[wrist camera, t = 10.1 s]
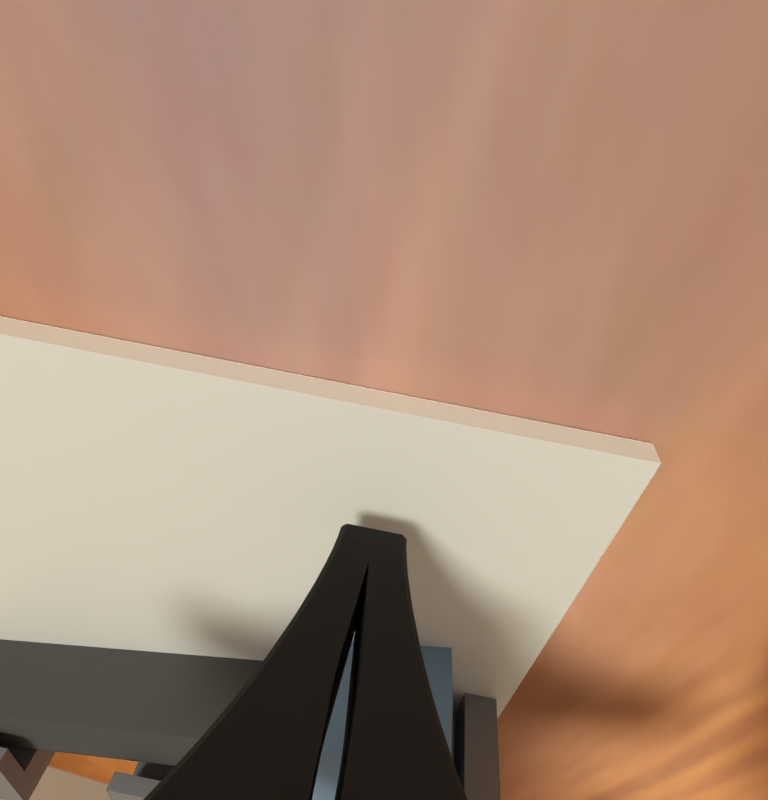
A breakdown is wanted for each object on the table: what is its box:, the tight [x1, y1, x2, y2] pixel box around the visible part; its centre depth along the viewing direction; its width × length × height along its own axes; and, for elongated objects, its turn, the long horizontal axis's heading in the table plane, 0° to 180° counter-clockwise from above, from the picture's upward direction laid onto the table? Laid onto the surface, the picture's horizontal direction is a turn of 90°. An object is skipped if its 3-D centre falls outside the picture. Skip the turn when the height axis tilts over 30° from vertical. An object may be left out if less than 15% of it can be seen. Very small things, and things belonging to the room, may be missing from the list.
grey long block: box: [0, 639, 454, 800], centre depth 17 cm, size 16×4×3 cm, turn 96°
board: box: [0, 316, 661, 800], centre depth 15 cm, size 20×20×4 cm
